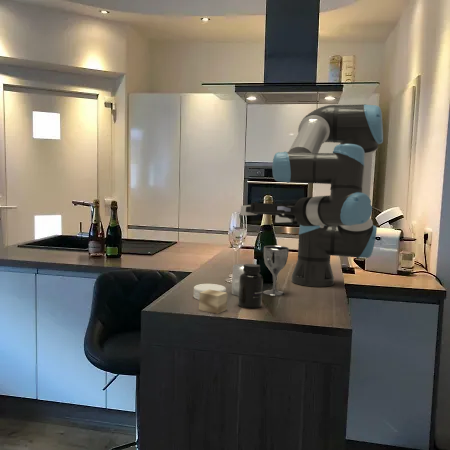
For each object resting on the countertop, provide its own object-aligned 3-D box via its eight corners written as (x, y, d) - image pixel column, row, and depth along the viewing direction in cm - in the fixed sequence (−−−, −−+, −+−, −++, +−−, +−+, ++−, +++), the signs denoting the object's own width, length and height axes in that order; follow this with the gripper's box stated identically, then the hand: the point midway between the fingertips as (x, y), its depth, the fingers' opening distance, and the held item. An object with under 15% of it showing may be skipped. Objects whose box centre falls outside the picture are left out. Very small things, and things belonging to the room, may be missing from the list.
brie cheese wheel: (188, 295, 154) (189, 284, 153) (217, 293, 158) (218, 282, 157) (200, 303, 145) (200, 291, 144) (231, 301, 149) (231, 289, 148)
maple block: (226, 310, 138) (227, 292, 137) (217, 314, 134) (218, 296, 133) (208, 306, 141) (209, 289, 140) (199, 310, 137) (199, 292, 136)
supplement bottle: (259, 309, 139) (262, 268, 138) (236, 307, 140) (238, 266, 139) (262, 303, 146) (264, 264, 145) (240, 301, 147) (242, 262, 146)
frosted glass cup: (253, 292, 160) (255, 264, 160) (253, 296, 154) (254, 268, 153) (232, 290, 161) (233, 263, 160) (230, 295, 154) (232, 267, 153)
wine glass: (282, 290, 165) (284, 245, 163) (289, 295, 157) (291, 249, 156) (259, 290, 164) (261, 245, 162) (265, 295, 156) (267, 249, 154)
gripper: (278, 218, 118) (224, 220, 135) (344, 232, 133) (288, 233, 150) (281, 187, 119) (227, 193, 136) (346, 205, 134) (290, 208, 151)
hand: (259, 214), depth 143 cm, fingers open, 13 cm apart
